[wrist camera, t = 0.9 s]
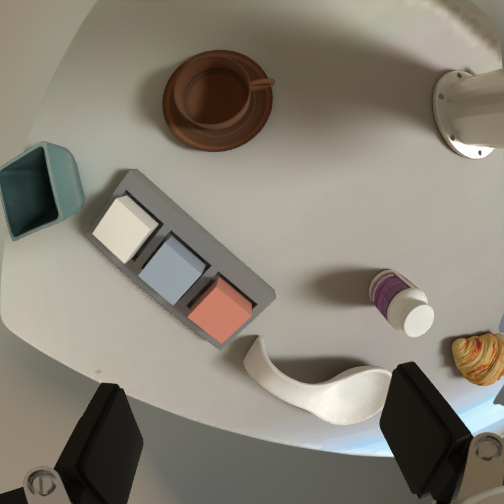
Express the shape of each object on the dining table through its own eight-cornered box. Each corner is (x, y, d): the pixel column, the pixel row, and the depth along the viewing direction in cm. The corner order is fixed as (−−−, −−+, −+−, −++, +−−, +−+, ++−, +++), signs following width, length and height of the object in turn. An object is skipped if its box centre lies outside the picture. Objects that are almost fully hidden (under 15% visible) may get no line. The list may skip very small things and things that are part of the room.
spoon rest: (401, 364, 41) (419, 392, 35) (359, 415, 44) (370, 445, 37) (268, 313, 39) (272, 343, 32) (231, 377, 42) (228, 411, 35)
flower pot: (85, 141, 32) (44, 139, 24) (101, 207, 35) (63, 221, 26) (37, 166, 33) (-6, 170, 24) (52, 226, 35) (11, 242, 26)
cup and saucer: (235, 38, 29) (232, 16, 23) (291, 117, 32) (299, 108, 26) (149, 92, 31) (130, 80, 25) (201, 172, 34) (191, 174, 28)
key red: (219, 276, 35) (216, 286, 32) (251, 303, 36) (251, 315, 33) (192, 305, 36) (187, 317, 33) (223, 330, 37) (221, 343, 34)
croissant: (430, 343, 44) (435, 384, 38) (472, 311, 38) (483, 354, 32) (488, 365, 46) (494, 397, 40) (523, 340, 39) (532, 374, 34)
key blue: (172, 235, 33) (164, 242, 30) (205, 265, 34) (201, 274, 31) (146, 267, 34) (138, 275, 31) (179, 294, 35) (173, 305, 32)
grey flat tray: (137, 169, 33) (130, 169, 31) (274, 289, 37) (276, 298, 35) (93, 231, 35) (84, 235, 33) (221, 340, 39) (220, 350, 37)
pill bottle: (364, 306, 38) (392, 344, 29) (371, 268, 37) (404, 299, 27) (398, 305, 38) (431, 341, 29) (406, 269, 37) (444, 298, 28)
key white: (127, 195, 32) (116, 198, 29) (158, 224, 33) (150, 229, 30) (103, 227, 33) (92, 233, 30) (134, 255, 34) (124, 263, 31)
